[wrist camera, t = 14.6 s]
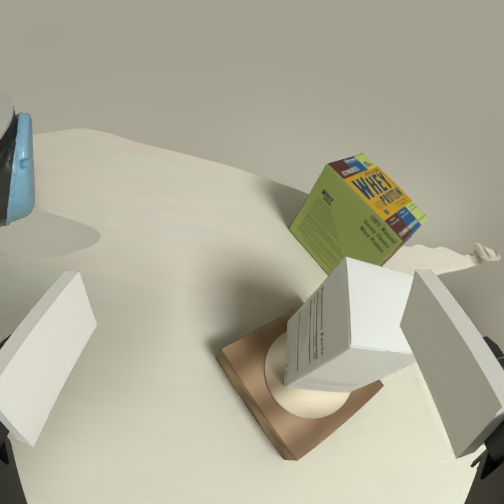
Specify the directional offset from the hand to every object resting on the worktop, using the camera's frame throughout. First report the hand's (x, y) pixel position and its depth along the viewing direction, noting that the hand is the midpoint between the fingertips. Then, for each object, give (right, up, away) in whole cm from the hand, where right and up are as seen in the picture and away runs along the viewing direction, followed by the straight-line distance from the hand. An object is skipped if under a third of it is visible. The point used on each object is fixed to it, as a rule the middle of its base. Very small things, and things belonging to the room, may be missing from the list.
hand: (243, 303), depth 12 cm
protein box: (+15, +2, +43) cm, 46 cm away
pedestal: (+6, -15, +28) cm, 32 cm away
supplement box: (+8, -11, +26) cm, 30 cm away
